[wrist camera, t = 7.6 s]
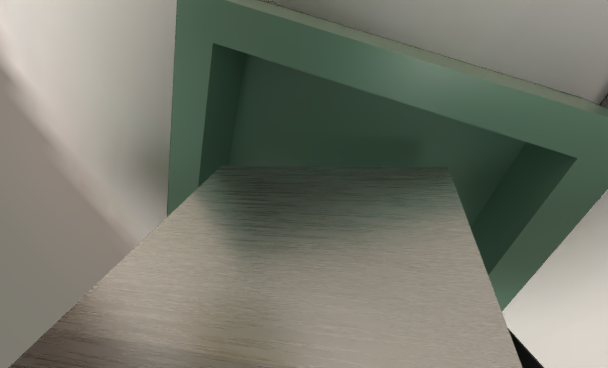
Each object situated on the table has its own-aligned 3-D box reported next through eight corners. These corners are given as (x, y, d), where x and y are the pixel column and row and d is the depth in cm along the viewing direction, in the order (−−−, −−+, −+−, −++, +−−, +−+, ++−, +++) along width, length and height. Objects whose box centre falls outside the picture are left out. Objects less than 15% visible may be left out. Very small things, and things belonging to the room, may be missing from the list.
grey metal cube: (428, 335, 10) (471, 686, 5) (255, 314, 11) (143, 572, 6) (447, 167, 7) (582, 524, 2) (221, 165, 9) (-16, 389, 4)
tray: (584, 98, 10) (656, 131, 7) (422, 329, 15) (429, 395, 13) (230, -9, 10) (177, -15, 8) (199, 248, 16) (163, 295, 13)
